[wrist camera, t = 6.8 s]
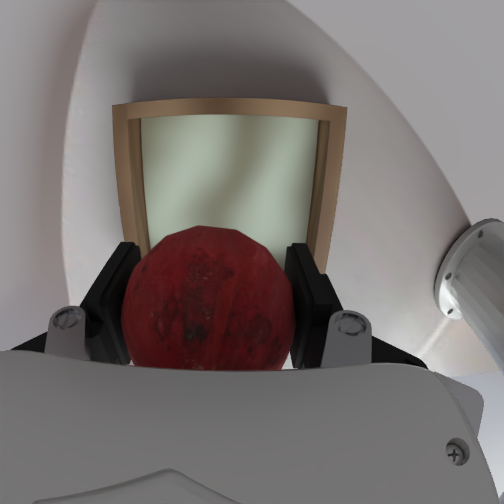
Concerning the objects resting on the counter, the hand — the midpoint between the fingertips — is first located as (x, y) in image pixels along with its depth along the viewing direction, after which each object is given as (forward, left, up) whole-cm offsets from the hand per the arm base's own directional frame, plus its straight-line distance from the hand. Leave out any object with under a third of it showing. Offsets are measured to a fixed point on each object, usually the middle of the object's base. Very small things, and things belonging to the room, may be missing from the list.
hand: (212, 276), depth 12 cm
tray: (0, 0, -11) cm, 11 cm away
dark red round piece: (0, 0, -2) cm, 2 cm away
